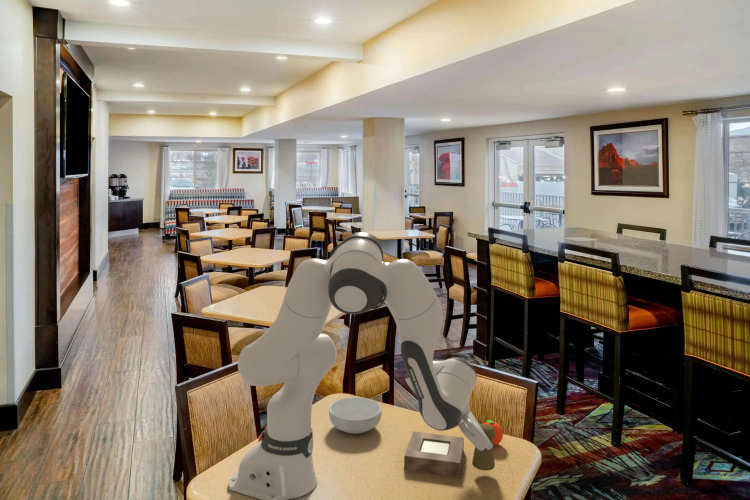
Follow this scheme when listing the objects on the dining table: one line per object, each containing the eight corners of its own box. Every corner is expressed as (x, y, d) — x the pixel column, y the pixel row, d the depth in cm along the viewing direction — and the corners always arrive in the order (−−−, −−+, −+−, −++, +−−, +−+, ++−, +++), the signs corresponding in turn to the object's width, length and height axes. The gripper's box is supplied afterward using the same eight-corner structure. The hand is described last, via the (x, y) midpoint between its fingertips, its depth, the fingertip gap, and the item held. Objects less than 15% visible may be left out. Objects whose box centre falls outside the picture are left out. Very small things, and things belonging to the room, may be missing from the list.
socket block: (404, 469, 148) (404, 455, 148) (412, 444, 163) (413, 431, 162) (459, 477, 145) (459, 463, 144) (463, 450, 159) (463, 437, 159)
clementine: (473, 439, 167) (474, 416, 166) (493, 436, 169) (494, 414, 168) (486, 451, 159) (487, 428, 158) (507, 448, 161) (508, 425, 160)
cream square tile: (420, 455, 151) (420, 452, 151) (423, 443, 158) (424, 440, 158) (446, 459, 149) (446, 456, 149) (449, 446, 156) (449, 443, 156)
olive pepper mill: (495, 471, 143) (497, 432, 141) (471, 469, 144) (473, 429, 142) (494, 460, 148) (496, 422, 147) (472, 457, 150) (474, 419, 148)
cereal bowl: (324, 419, 178) (324, 399, 178) (373, 414, 183) (373, 394, 182) (334, 444, 162) (334, 421, 161) (387, 437, 167) (388, 416, 166)
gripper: (472, 416, 133) (508, 452, 135) (452, 384, 153) (483, 416, 155) (453, 434, 133) (490, 470, 135) (435, 399, 153) (467, 431, 155)
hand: (486, 441), depth 145 cm, fingers closed on olive pepper mill, 5 cm apart
